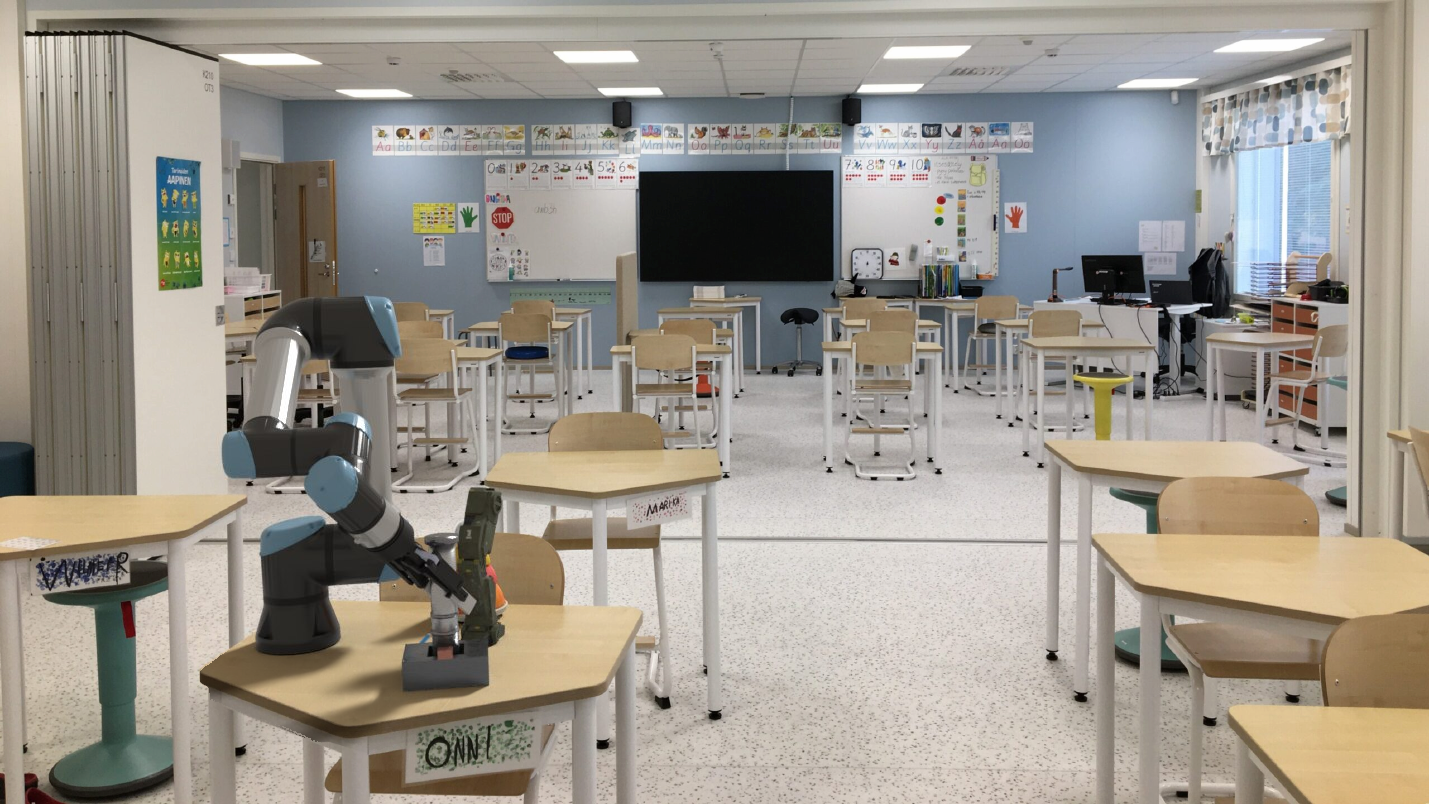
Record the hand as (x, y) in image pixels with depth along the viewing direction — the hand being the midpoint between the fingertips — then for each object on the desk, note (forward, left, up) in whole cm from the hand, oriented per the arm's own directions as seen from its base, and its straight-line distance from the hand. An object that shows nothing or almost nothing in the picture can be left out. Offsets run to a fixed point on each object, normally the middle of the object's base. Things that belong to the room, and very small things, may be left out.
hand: (460, 605), depth 199 cm
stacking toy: (-34, +1, -12) cm, 36 cm away
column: (+3, -3, -10) cm, 11 cm away
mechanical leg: (-17, +3, -12) cm, 21 cm away
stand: (+3, -3, -12) cm, 12 cm away
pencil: (-15, -9, -12) cm, 21 cm away
